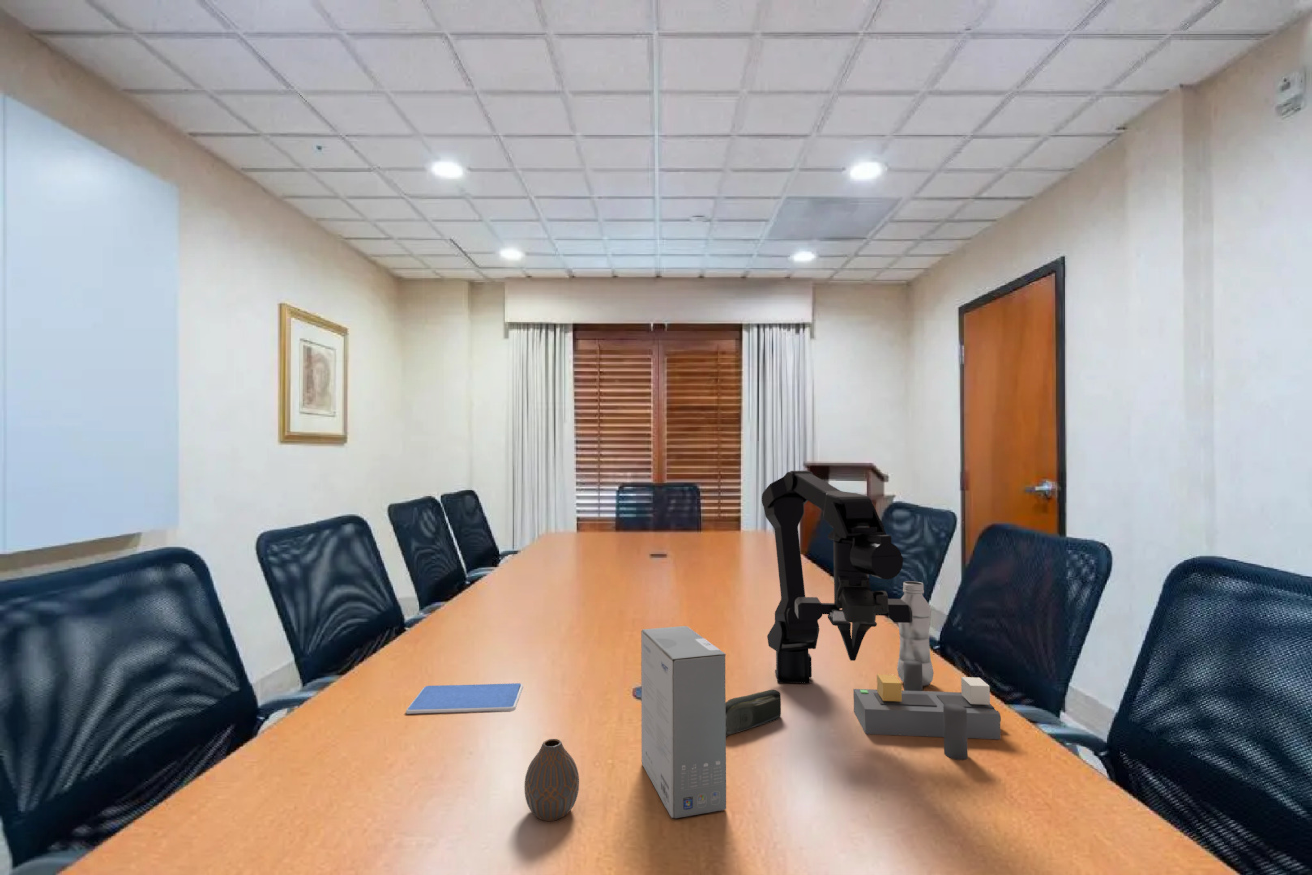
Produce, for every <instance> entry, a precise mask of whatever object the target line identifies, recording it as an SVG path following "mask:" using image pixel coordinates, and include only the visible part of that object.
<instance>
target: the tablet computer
mask: <svg viewBox="0 0 1312 875" xmlns="http://www.w3.org/2000/svg"><path fill="white" fill-rule="evenodd" d="M523 689H524V684H523V683H518V682H517V683H514V682H513V683H486V684H485V683H484V684H483V683H482V684H449V685H445V684H444V685H440V684H439V685H426V686H423V688H422V689H421V691H420V692H419V693H418V694H417V696H416V697H415V698H414V700H412V702H411V703H410V704H409V705H408V707H407V708H406V710H405V713H406V714H409V715H412V714H413V715H414V714H415V715H416V714H417V715H418V714H444V713H445V714H446V713H447V714H449V713H477V712H481V713H483V712H512V711H515V710H516V709H517V705H518V703H519V700H520V698H521V694H522V693H523Z"/></svg>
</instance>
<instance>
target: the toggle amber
mask: <svg viewBox="0 0 1312 875" xmlns="http://www.w3.org/2000/svg"><path fill="white" fill-rule="evenodd" d="M876 683H877V684H876V690H877V692H878V694H879V695H880V697H881V698H882V700H883V701H902V681H900V680H899V678H898V677H897V676H896V675H895V674H876Z"/></svg>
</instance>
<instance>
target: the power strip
mask: <svg viewBox="0 0 1312 875" xmlns="http://www.w3.org/2000/svg"><path fill="white" fill-rule="evenodd" d="M946 704H956V705H960V706H963V707H965V708H966V709H967V739H977V740H978V739H980V740H981V739H982V740H1001V721H1002V718H1001V713H1000V712H999V710H996V709H995V707H994V706H993V705H992V704H991V703H990V705H985V704H970V703H969V702H968V701H967V700H966V699H965V698H964V697H963V696H962V691H961V692H960V691H959V692H958V691H955V692H954V691H934V690H933V691H931V690H930V691H928V690H923V691H904V689H903V690H902V701H883V700H882V698H881V697H880V695H879V694H878V692H877V689H868V688H853V713H854V715H855V716H856V718H857V720H858V723H859V724H860V727H861V729H862V730H863V732H864V734H866V735H884V736H887V735H888V736H907V737H909V736H910V737H912V736H913V737H935V738H944V713H943V706H944V705H946Z"/></svg>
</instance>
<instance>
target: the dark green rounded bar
mask: <svg viewBox="0 0 1312 875" xmlns="http://www.w3.org/2000/svg"><path fill="white" fill-rule="evenodd" d="M781 702H782V699H781V693H780V691H778V690H776V689H772V688H771V689H768V690H764V691H760V692H756V693H755V692H754V693H751V694H747V695H742V696H739V697H733V698H730V699H728V700H727V701H726V737H728V736H731V735H734V734H736V733H740V732H743V731H745V730H746V731H747V730H748V729H752V728H754V727H759V726H762V725H766V724H768V723H771V722H775V721H777V720H779V719H780V717H781V715H782V706H781V705H782V703H781ZM765 723H766V724H765Z"/></svg>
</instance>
